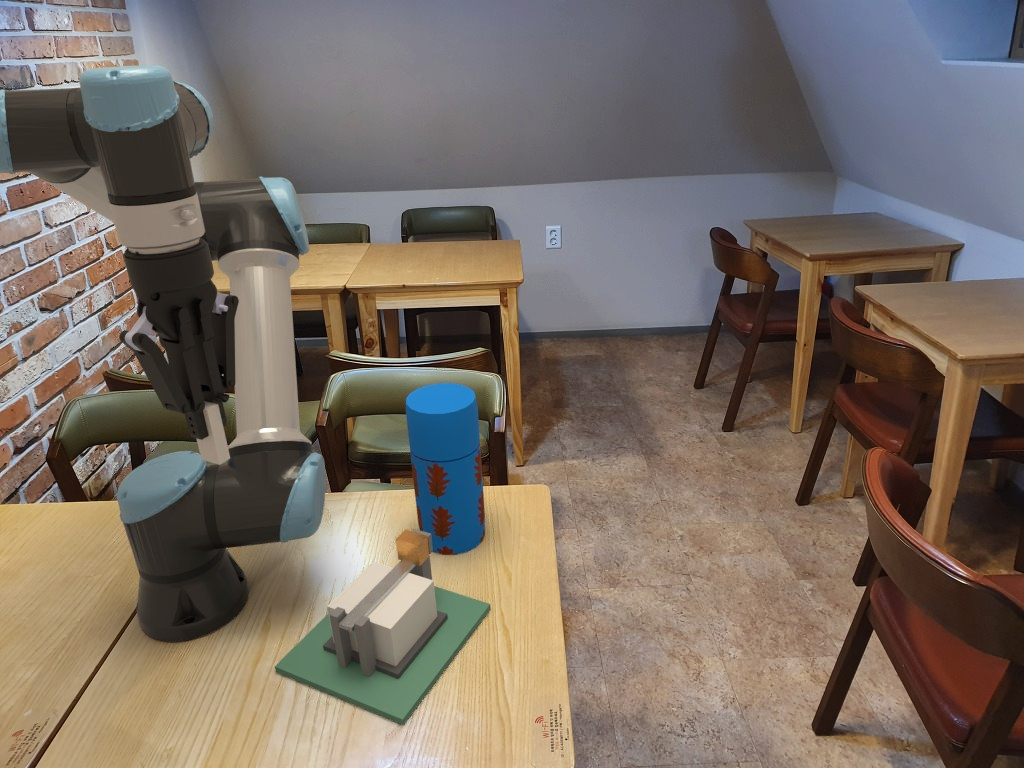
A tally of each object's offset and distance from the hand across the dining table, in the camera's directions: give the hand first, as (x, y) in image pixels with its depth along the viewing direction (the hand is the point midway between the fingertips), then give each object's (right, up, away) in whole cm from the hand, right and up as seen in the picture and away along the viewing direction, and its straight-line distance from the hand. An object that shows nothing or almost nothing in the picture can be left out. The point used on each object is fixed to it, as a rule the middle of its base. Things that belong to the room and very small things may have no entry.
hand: (215, 458), depth 83 cm
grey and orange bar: (+15, -19, +20) cm, 31 cm away
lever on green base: (+15, -27, +22) cm, 38 cm away
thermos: (+22, -17, +43) cm, 52 cm away
